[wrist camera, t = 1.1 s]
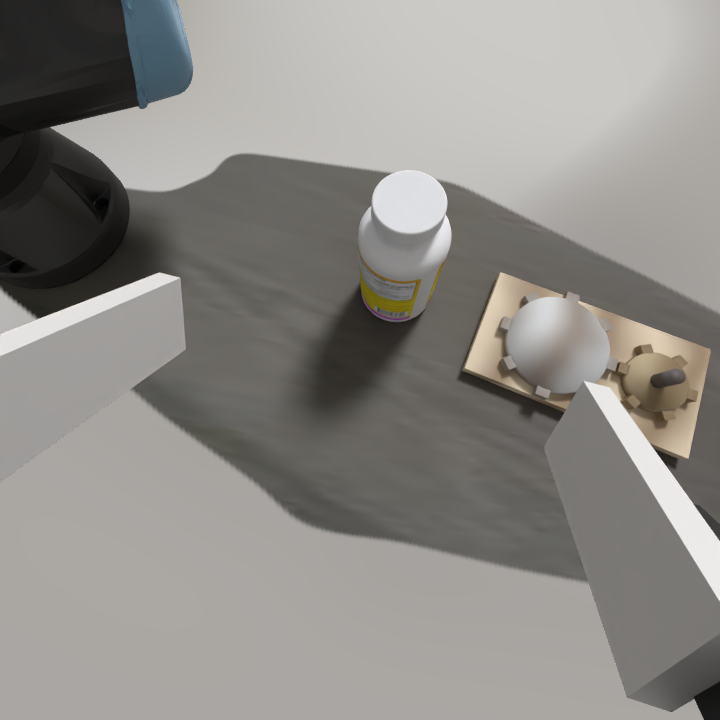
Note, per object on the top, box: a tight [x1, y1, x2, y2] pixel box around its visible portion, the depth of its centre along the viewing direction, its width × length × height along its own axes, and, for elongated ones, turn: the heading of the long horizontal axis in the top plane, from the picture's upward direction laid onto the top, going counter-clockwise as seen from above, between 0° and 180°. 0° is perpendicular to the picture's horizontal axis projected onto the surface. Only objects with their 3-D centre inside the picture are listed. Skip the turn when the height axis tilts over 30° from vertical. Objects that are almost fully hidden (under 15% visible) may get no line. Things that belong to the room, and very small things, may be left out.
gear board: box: [462, 272, 711, 459], centre depth 31 cm, size 19×10×4 cm, turn 66°
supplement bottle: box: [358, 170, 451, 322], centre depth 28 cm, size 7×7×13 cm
